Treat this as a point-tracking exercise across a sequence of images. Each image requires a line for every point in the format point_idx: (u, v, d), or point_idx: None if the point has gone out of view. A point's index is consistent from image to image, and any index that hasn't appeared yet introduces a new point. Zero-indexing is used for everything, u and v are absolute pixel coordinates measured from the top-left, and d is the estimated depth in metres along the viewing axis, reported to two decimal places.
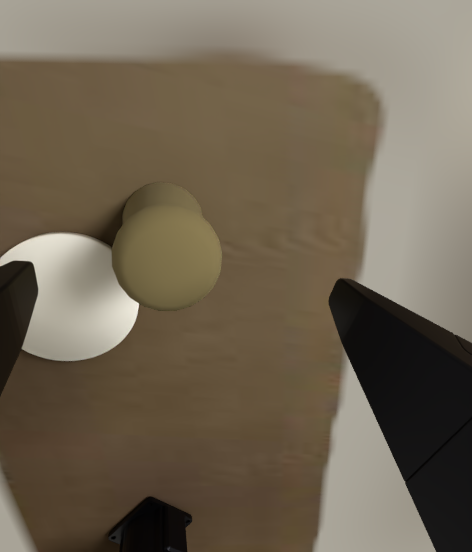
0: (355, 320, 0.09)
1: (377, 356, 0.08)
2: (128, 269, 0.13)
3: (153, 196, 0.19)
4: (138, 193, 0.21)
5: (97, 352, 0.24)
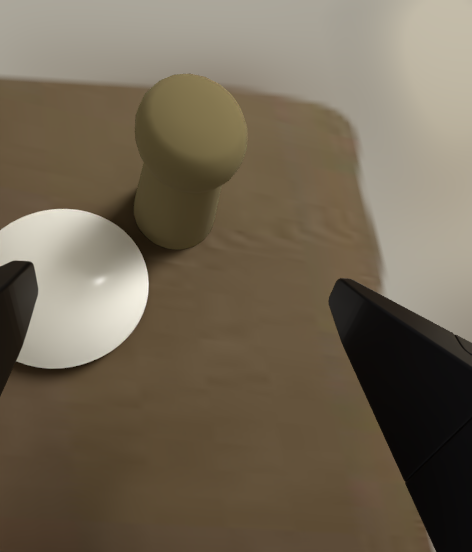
0: (355, 320, 0.09)
1: (377, 356, 0.08)
2: (154, 109, 0.13)
3: None
4: None
5: (93, 356, 0.19)
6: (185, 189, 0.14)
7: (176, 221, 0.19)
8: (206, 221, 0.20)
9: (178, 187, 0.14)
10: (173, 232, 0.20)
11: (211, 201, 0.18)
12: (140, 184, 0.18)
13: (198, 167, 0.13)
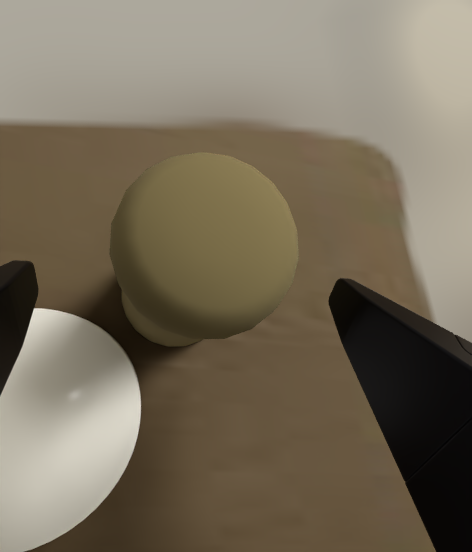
0: (355, 320, 0.09)
1: (377, 356, 0.08)
2: (142, 228, 0.07)
3: None
4: None
5: (60, 528, 0.13)
6: None
7: (179, 335, 0.13)
8: None
9: None
10: (175, 340, 0.14)
11: None
12: None
13: (221, 324, 0.07)
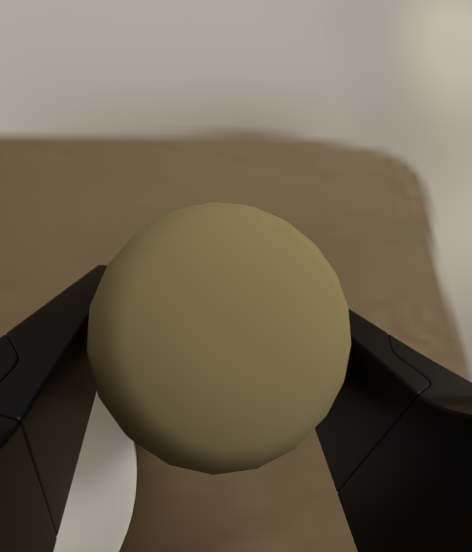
0: None
1: None
2: (132, 334, 0.05)
3: None
4: None
5: None
6: None
7: None
8: None
9: None
10: None
11: None
12: None
13: (248, 465, 0.05)
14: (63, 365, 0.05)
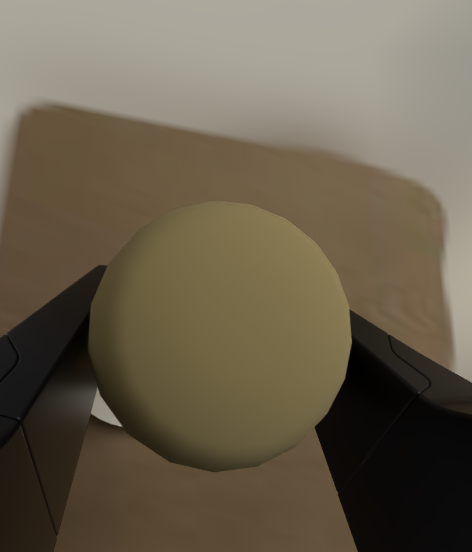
0: None
1: None
2: (133, 332, 0.05)
3: None
4: None
5: None
6: None
7: None
8: None
9: None
10: None
11: None
12: None
13: (248, 463, 0.05)
14: (63, 365, 0.05)
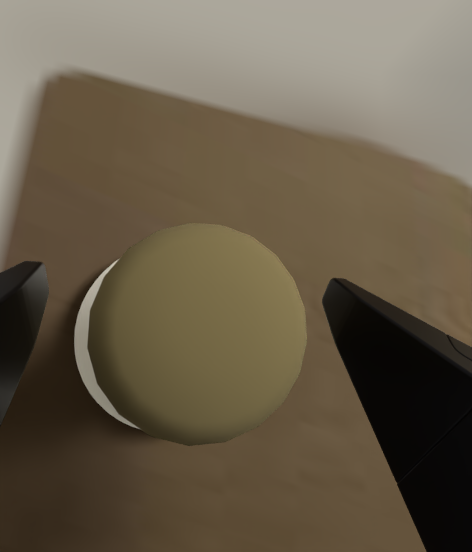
0: (348, 320, 0.09)
1: (369, 356, 0.08)
2: (120, 331, 0.06)
3: None
4: None
5: None
6: None
7: None
8: None
9: None
10: None
11: None
12: None
13: (215, 437, 0.06)
14: None
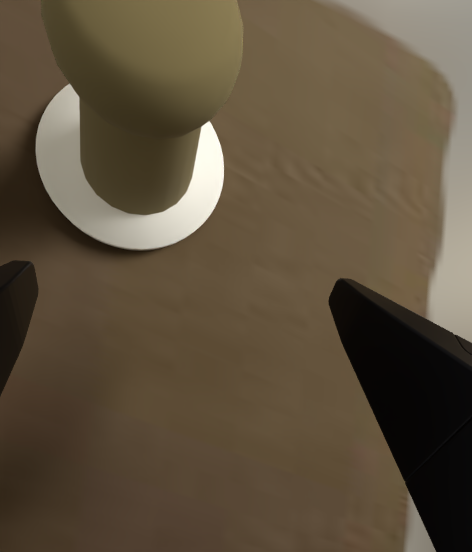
0: (355, 320, 0.09)
1: (377, 356, 0.08)
2: None
3: None
4: None
5: (150, 243, 0.17)
6: (137, 131, 0.09)
7: (134, 178, 0.13)
8: (179, 180, 0.15)
9: (125, 126, 0.09)
10: (133, 193, 0.14)
11: (184, 152, 0.12)
12: None
13: (155, 91, 0.07)
14: None
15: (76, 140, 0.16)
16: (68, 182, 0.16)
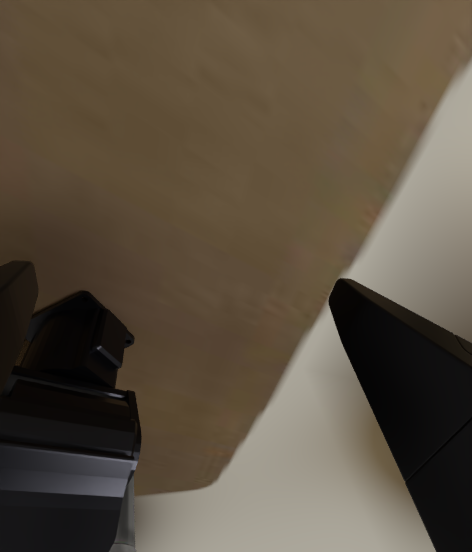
0: (355, 320, 0.09)
1: (377, 356, 0.08)
2: None
3: None
4: None
5: None
6: None
7: None
8: None
9: None
10: None
11: None
12: None
13: None
14: None
15: None
16: None
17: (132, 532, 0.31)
